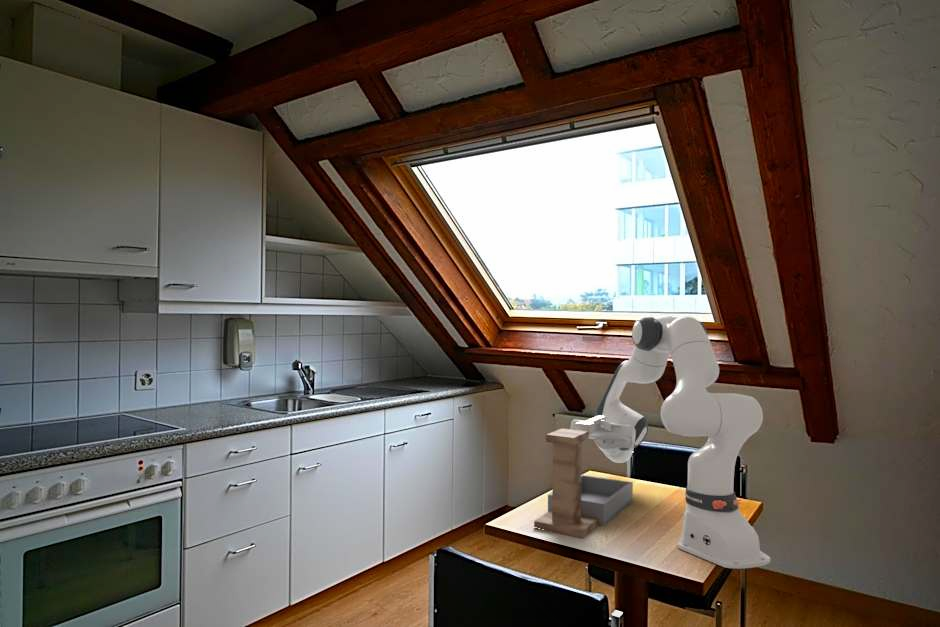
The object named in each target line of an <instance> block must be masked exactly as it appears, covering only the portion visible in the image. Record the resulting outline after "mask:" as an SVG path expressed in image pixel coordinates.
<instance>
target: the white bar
mask: <svg viewBox="0 0 940 627" xmlns="http://www.w3.org/2000/svg"><path fill="white" fill-rule="evenodd" d="M600 420H605V421H606V416H600V415H598V416H596V415H595V416H594V417H591V418H588V419H586V420H584V421H580V422H577V423H576V425H575V430H580V431H589V433H588V435H591V434H593V433H594V431H595V430H597V429H600V428H602V427H600V425H599V423H600Z"/></svg>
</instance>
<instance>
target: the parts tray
mask: <svg viewBox="0 0 940 627" xmlns="http://www.w3.org/2000/svg"><path fill="white" fill-rule="evenodd" d="M633 487H634V482H633V481H627V480H626V481H625V480H620V479H619V480H618V479H612V478H605V477H599V476H593V475H585V474H581V515H584V516H589V517H594V518H598V526H602V525H604V526H605V524H606V523H607V522H608V523H609V522H610V521H611V520H613V519H614V518H615V517H616V516H617V515H619V514H620V513H621V512H622V511H623V510H624V509H625V508H627V507H628V506H629V505H630V504H631V503H632V502H634V500H633V497H634V496H633V495H634V494H633V493H634V492H633V490H634V488H633ZM552 493H553V491H552V492H550V493H548V494H547V512H549V511H551V510H552ZM627 505H628V506H627ZM626 506H627V507H626ZM621 510H622V511H621ZM620 511H621V512H620ZM619 512H620V513H619ZM615 515H616V516H615ZM614 516H615V517H614ZM613 517H614V518H613ZM612 518H613V519H612ZM608 523H607V524H608ZM607 524H606V525H607Z"/></svg>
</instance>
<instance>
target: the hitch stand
mask: <svg viewBox="0 0 940 627" xmlns="http://www.w3.org/2000/svg"><path fill="white" fill-rule="evenodd" d="M588 433H589V431H580V430H572V429H570V428H560V429H556V430H553V431H552V432H549V433H547V434H545V436H546V437H545V442H546V443H552V492H553V493H552V492H551V493H552V510H551V511H549V512H548V511H547V512H546V513H544V514H543V515H541V516H539V517H538V518H537V519H535V520H534V522H533V528H534V527H537V528H540V529H544V530H547V531H546V532H549V531H551V533H556V534H559V533H560V534H561V535H564V534H565V536H569V537H573V536H575V537H574V538H578V537H580V539H584V538H585V537H586V536H587V535H588V534H590V533H591V532H592V531H594V529H596V528H597V527H598V526H599V525H598V518H594V517H589V516H584V515H581V475H582V462H583V461H582V459H583V458H582V457H583V456H582V454H583V453H582V450H583V449H582V448H583V447H582V446H583V442H584V441H586V440H589V438H588ZM595 527H596V528H595ZM540 529H539V530H540ZM544 530H543V531H544ZM589 532H590V533H589ZM583 537H584V538H583Z"/></svg>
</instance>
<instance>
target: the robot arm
mask: <svg viewBox="0 0 940 627" xmlns="http://www.w3.org/2000/svg"><path fill="white" fill-rule="evenodd" d="M631 338H632V342H633V343H634V345H633V348H632V352H631V355H630V358H629V359H628V360H624V361H622V362H621V363H620V364H619V365H618V366H617V368H616V370H615V371H614V373H613V376H612V377H611V379H610V382H609V384H608V386H607V388H606V391H605V392H604V394H603V396H602V398H601V400H600V401H599V403H598V404H597V406H596V409H595V411H594V413H595V417H596V416H598V415H600V416H606V421H605V420H600V423H599V425H600V427H602V428H600V429H597V430H595V431H594V433H593V434H591V435H588V439H590V440H593V441H594V443H595V445H596V446H597V447H598V448H599V449H600V451H602V453H603V454H604V455H605V456H606V458H607V459H609V460H610V461H612V462H613V463H616V464H622V463H626V462H627V461H629V460H630V459H631V458H632V455H633V452H634V451H633V450H634V449H636V448H637V447H639V446H640V445H641V444H642V443H643V441H644V440H645V438H646V437H647V435H648V432H649V424H648V420H647V417H645V416H643V415H642V414H640V413H639V412H637V411H635V410H634V409H632V408H630V407H628V406H627V405H625V404H623V403H622V401H621V400H620V397H621V395H622V393H623V392H624V390H625V387H626V384H627V383H633V384H634V383H636V384H643V385H644V384H646V385H647V384H652V383H654V382H657V381H658V380H659V379H661V377H662V376H663V375H664V372H665V369H666V367H667V363H668V360H669V356H671V361H672V363H673V368H674V372H675V377H676V384H675V388H674V390H673V391H672V393H671V394H670V395H669V396H667V397H666V398H665V400H664V401H663V403H662V404H661V407H660V418H661V423H662V425H663V426H664V428H665V429H666V430H667V431H668V432H669V433H670V434H675V435H678V436H679V435H680V436H684V437H708V439H707V441H706V443H705V444H703V446H702V447H701V448H699V449H697V450H695V451H694V452H693V453H691V454H690V456H689V458H688V459H687V460H688V461H687V486H686V487H685V493H684V494H685V502H686V506H685V510H684V513H683V517H682V525H681V531H680V532H681V534H680V539H679V541H678V542H677V548H678V549H680V550H681V551H685V552H687V553H689V554H692V555H694V556H696V557H698V558H701V559H703V560H706V561H708V562H711V563H713V564H715V565H718V566H720V567H722V568H725V569H726V568H727V569H736V570H737V569H751V568H758V567H763V566H765V565H769V564H770V563H771V561H772V560H771V557H770V556H769V555H768V554H766V553H764V552H763V551H761V549H760V548H761V547H760V539H759V535H758V533H757V532H756V530H755V528H754V527H753V526H751V524H750V523H749V522H748V520H747V519H746V517H744V515H743V514H742V512H741V511H740V510H739V508H740V507H739V505H741V504H742V503H741V502H742V499H738V498H737V496H736V492H735V491H734V478H735V466H736V462H737V457H738V455H739V452H740V450H741V449H742V447H743V446H744V444H745V443H746V441H748V439H749V438H750V437H751V436H752V435H754V434H755V433H757V432H758V431H759V430H760V427H762V424H763V420H764V413H763V409H762V406H761V404H760V403H759V401H758V400H757V399H756V398H754V396H750V395H746V394H741V393H734V392H726V393H725V392H724V393H723V392H709V391H708V390H707V389H706V388H708V387H710V386H711V385H713V384H714V383H715V382H716V381H717V379H718V378H719V374H720V366H719V363H718V360H717V357H716V354H715V352H714V348H713V346H712V344H711V341H710V339H709V336H708V330H707V327H706V326H705V324H704V323H703V322H702V321H699V320H698V319H696V318H694V317H692V316H682V317H675V316H671V315H670V316H669V315H655V316H653V315H644V316H643V315H642V316H639V317H638V318H637V319H636V320H635V321H634V323H633V325H632V331H631ZM580 421H585V420H583V419H572V420H571V423H570V427H569V429H572V430H575V425H576V423H577V422H580Z"/></svg>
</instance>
